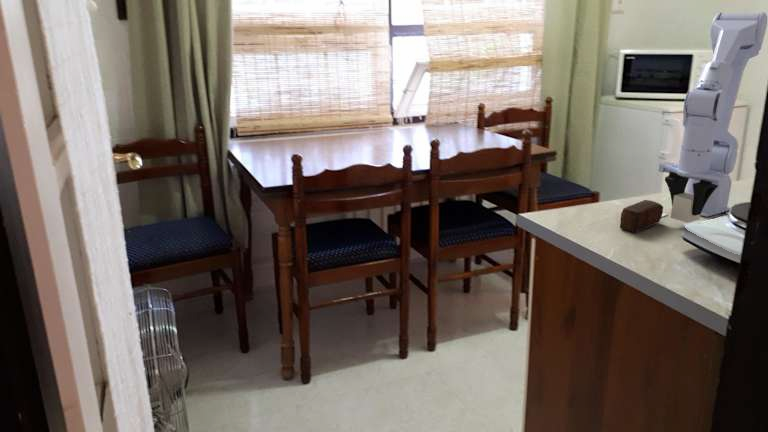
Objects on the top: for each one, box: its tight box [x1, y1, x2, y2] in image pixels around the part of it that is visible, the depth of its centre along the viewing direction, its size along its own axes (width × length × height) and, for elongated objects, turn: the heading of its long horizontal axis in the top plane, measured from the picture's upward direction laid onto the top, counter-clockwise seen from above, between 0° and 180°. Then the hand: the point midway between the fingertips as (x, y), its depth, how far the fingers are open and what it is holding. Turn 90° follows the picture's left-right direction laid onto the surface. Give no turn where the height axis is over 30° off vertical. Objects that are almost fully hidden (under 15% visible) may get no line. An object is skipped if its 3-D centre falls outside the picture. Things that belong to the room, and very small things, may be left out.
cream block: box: [670, 191, 701, 224], centre depth 126 cm, size 4×4×5 cm
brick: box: [619, 199, 664, 233], centre depth 127 cm, size 11×4×5 cm, turn 129°
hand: (686, 211), depth 126 cm, fingers closed on cream block, 4 cm apart
